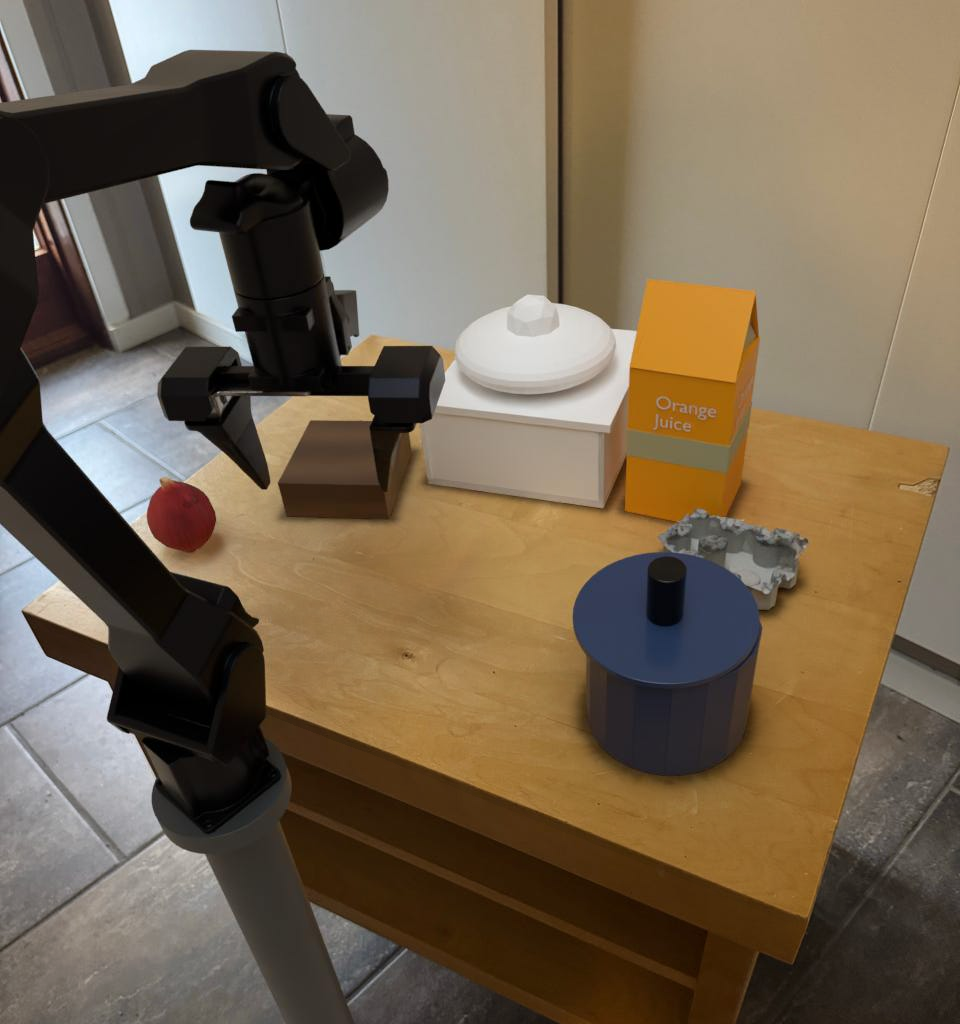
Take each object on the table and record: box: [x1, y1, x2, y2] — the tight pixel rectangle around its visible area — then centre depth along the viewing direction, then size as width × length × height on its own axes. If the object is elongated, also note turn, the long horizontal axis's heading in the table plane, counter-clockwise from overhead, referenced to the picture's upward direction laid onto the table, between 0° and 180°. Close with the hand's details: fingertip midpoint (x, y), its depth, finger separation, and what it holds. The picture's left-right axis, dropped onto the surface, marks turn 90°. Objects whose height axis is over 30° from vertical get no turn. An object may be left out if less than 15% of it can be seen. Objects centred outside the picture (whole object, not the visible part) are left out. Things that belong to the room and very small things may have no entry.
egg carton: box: [656, 508, 809, 611], centre depth 79 cm, size 11×8×4 cm
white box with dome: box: [419, 293, 637, 509], centre depth 91 cm, size 18×18×16 cm
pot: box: [585, 622, 763, 777], centre depth 67 cm, size 11×11×9 cm
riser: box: [277, 419, 413, 520], centre depth 93 cm, size 11×10×4 cm
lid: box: [572, 551, 761, 689], centre depth 62 cm, size 12×12×5 cm
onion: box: [146, 476, 217, 554], centre depth 86 cm, size 6×6×8 cm
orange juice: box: [624, 278, 761, 523], centre depth 82 cm, size 8×9×20 cm
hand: (325, 487), depth 71 cm, fingers open, 9 cm apart
